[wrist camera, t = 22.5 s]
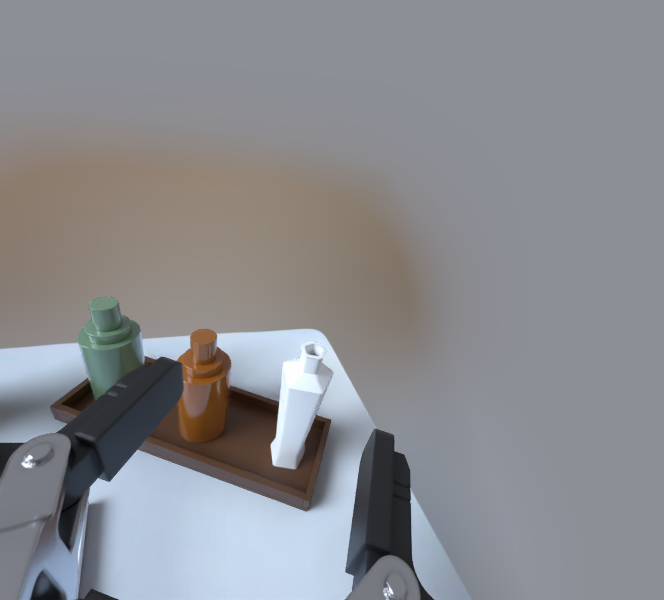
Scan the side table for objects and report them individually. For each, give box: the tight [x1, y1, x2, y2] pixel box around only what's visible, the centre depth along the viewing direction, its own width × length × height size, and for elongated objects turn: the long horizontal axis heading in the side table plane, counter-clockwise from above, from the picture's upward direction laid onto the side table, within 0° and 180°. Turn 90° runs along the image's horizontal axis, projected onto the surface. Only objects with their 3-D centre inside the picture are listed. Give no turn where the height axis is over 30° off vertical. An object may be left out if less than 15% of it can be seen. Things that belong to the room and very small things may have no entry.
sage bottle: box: [77, 297, 146, 400], centre depth 30 cm, size 5×5×12 cm
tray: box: [50, 356, 331, 511], centre depth 32 cm, size 27×9×2 cm, turn 78°
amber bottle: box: [177, 329, 231, 443], centre depth 29 cm, size 5×5×12 cm
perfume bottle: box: [271, 341, 333, 469], centre depth 28 cm, size 5×4×15 cm
